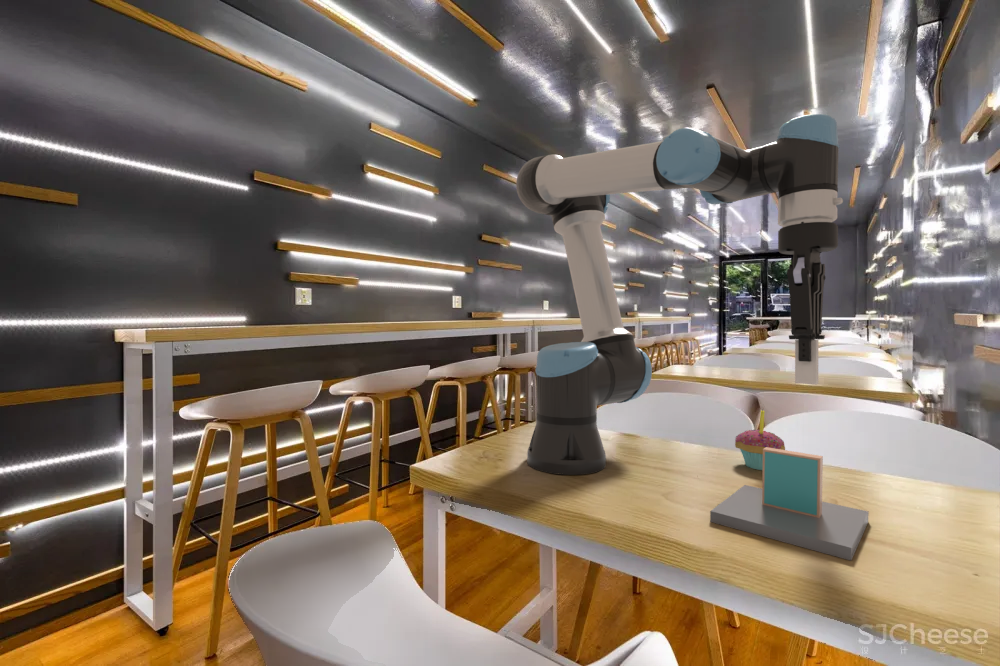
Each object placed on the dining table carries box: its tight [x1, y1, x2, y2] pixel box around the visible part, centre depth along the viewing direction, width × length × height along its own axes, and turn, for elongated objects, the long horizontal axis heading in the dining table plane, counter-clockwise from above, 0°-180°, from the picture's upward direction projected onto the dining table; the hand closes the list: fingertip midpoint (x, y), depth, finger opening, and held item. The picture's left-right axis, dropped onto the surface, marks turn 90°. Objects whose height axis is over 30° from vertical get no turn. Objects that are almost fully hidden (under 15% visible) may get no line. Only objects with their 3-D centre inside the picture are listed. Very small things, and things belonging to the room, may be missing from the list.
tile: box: [761, 447, 824, 518], centre depth 68 cm, size 7×2×8 cm, turn 47°
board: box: [709, 484, 869, 561], centre depth 67 cm, size 16×15×2 cm
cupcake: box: [734, 406, 786, 471], centre depth 93 cm, size 9×8×12 cm
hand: (806, 383), depth 73 cm, fingers closed
